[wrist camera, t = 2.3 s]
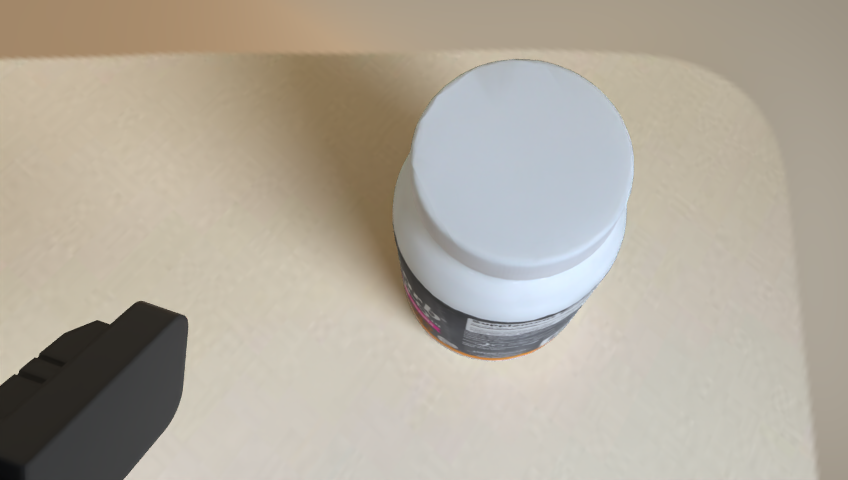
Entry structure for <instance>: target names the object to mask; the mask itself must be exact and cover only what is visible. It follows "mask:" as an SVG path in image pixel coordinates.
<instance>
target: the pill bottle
mask: <svg viewBox="0 0 848 480" xmlns="http://www.w3.org/2000/svg"><path fill="white" fill-rule="evenodd" d="M633 175H634V155H633V147H632V143H631V139H630V136H629V133H628V130H627V128H626V126H625V124H624V121H623V119H622V117H621V116H620V114H619V113H618V111H617V109H616V108H615V106H614V105H613V104H612V103H611V101H610V100H609V99H608V98H607V97H606V96H605V95H604V94H603V93H602V92H601V91H600V90H599V89H598V88H597V87H596V86H595V85H593V84H592V83H591V82H589V81H588V80H587V79H585V78H584V77H582V76H580V75H579V74H577V73H575V72H573V71H571V70H569V69H566V68H564V67H561V66H559V65H555V64H552V63H548V62H544V61H538V60H529V59H512V60H501V61H495V62H491V63H487V64H484V65H481V66H478V67H475V68H473V69H471V70H469V71H467V72H465V73H463V74H461V75H459V76H458V77H457V78H455V79H454V80H452V81H451V82H450V83H448V84H447V85H446V86H445V87H443V88H442V89H441V90H440V91H439V92H438V93H437V94H436V95H435V96H434V97H433V99H432V100H431V101H430V102H429V104H428V106H427V107H426V109H425V110H424V112H423V113H422V115H421V117H420V119H419V121H418V123H417V126H416V128H415V132H414V136H413V140H412V144H411V150H410V153H409V155H408V156H407V158H406V160H405V162H404V164H403V166H402V168H401V171H400V173H399V176H398V179H397V183H396V187H395V192H394V200H393V229H394V235H395V241H396V245H397V249H398V255H399V260H400V265H401V272H402V277H403V282H404V287H405V291H406V295H407V298H408V301H409V304H410V306H411V309H412V311H413V313H414V315H415V317H416V318H417V320H418V321H419V323H420V324H421V325H422V327H423V328H424V329H425V330H426V332H427V333H428V334H429V335H430V336H431V337H432V338H434V339H435V340H436V341H437V342H439V343H440V344H441V345H443V346H444V347H446V348H447V349H449V350H451V351H453V352H455V353H457V354H459V355H462V356H465V357H468V358H471V359H477V360H483V361H505V360H511V359H515V358H519V357H522V356H525V355H528V354H530V353H532V352H534V351H536V350H538V349H540V348H541V347H543V346H544V345H546V344H547V343H549V342H550V341H551V340H552V339H554V338H555V337H556V336H557V335H558V334H559V333H560V332H561V331H562V330H563V329H564V328H565V327H566V326H567V324H568V323H569V322H570V320H571V319H572V318H573V317H574V315H575V314H576V312H577V311H578V310H579V309H580V308H581V306H582V305H583V304H584V303H585V302H586V300H587V299H588V298H589V296H590V295H591V293H592V292H593V291H594V290H595V289H596V287H597V286H598V284H599V283H600V282H601V280H602V279H603V278H604V277H605V276H606V274H607V273H608V272H609V270H610V268H611V266H612V265H613V263H614V261H615V259H616V257H617V254H618V252H619V250H620V247H621V244H622V241H623V238H624V233H625V226H626V215H627V201H628V198H629V196H630V193H631V189H632V183H633Z"/></svg>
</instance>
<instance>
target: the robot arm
mask: <svg viewBox="0 0 848 480" xmlns="http://www.w3.org/2000/svg"><path fill="white" fill-rule="evenodd" d="M187 336H188V320H187V318H186V316H184V315H181V314H179V313H176V312H173V311H170V310H167V309H164V308H161V307H158V306H155V305H153V304H150V303H147V302H144V301H139V302H136V303H135V304H133V305H132V306H131V307H130V308H128V309H127V310H126V311H125V312H124V313H123V314H122V315H120V316H119V317H118V318H117V319H116V320H115V321H114V322H112V323H111V324H107V323H104V322H101V321H98V320H96V321H94V322H91V323H89V324H86V325H84V326H81V327H79V328H76V329H74V330H71V331H69V332H66V333H64V334H63V335H62V336H60V337H59V338H58V339H57V340H55V341H54V342H53V343H52V344H51V345H49V346H48V347H47V348H46V349H44V350H43V351H42V352H41V353H40V354H39V357H38V358H34V359H32V360H31V361H30V362H29V363H27V364H26V365H25V366H24V367H23V368H21V369H20V370H19V373H18V375H15V374H14V375H13V376H12V377H10V378H9V379H8V380H7V381H5V382H4V383H3V384H2V385H1V386H0V480H123V479H124V478H125V477H126V476H127V475H128V473H129V472H130V471H131V470H132V469H133V468H134V466H135V465H136V464H137V463H138V462H139V460H140V459H141V458H142V457H143V456H144V454H145V453H146V452H147V451H148V450H149V448H150V447H151V446H152V445H153V444H154V442H155V441H156V440H157V439H158V438H159V437H160V435H161V434H162V433H163V432H164V431H165V429H166V428H167V427H168V425H169V424H170V422H171V420H172V419H173V417H174V415H175V413H176V411H177V408H178V406H179V403H180V400H181V396H182V391H183V381H184V370H185V359H186V347H187Z"/></svg>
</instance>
